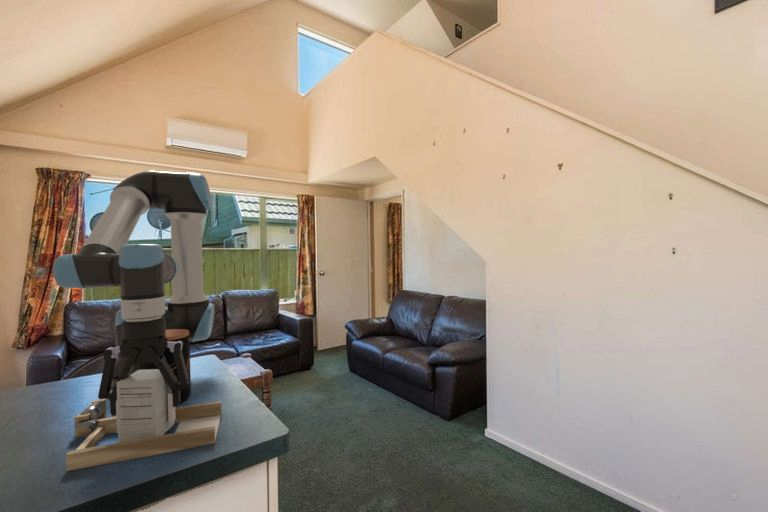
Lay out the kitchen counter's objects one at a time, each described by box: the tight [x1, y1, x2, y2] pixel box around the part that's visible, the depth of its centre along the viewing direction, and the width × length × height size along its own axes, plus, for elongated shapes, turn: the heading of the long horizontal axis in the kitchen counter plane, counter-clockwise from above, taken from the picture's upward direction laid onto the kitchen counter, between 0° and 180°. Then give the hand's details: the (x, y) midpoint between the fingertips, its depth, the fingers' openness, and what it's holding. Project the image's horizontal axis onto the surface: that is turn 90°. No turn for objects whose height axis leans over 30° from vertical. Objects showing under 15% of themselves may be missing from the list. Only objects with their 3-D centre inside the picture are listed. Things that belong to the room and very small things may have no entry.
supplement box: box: [116, 369, 175, 443], centre depth 73 cm, size 7×7×13 cm
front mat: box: [174, 414, 222, 440], centre depth 76 cm, size 11×8×1 cm
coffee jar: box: [142, 329, 192, 405], centre depth 91 cm, size 11×11×18 cm
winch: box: [73, 399, 108, 439], centre depth 77 cm, size 12×5×5 cm, turn 20°
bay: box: [65, 400, 223, 472], centre depth 73 cm, size 14×24×3 cm, turn 110°
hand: (147, 425), depth 73 cm, fingers closed on supplement box, 8 cm apart
